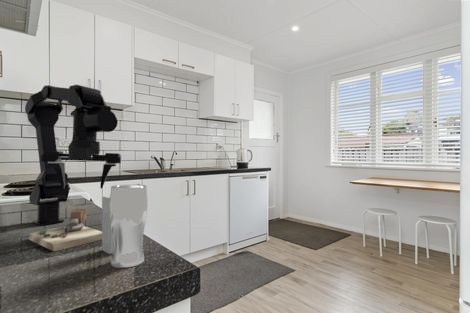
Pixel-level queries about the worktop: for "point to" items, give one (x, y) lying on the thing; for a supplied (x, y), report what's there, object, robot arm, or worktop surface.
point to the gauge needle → (76, 220)
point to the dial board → (64, 237)
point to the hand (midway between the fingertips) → (82, 188)
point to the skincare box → (106, 227)
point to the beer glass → (128, 224)
